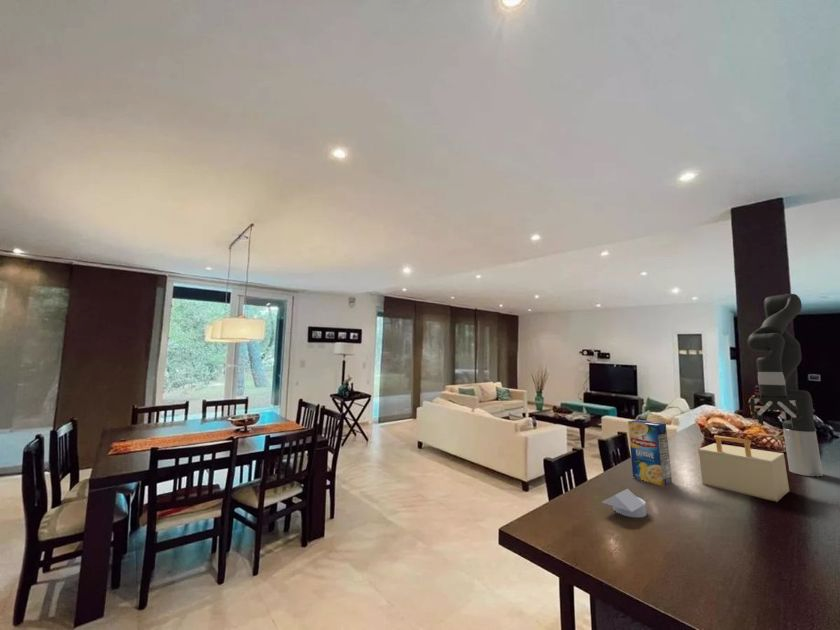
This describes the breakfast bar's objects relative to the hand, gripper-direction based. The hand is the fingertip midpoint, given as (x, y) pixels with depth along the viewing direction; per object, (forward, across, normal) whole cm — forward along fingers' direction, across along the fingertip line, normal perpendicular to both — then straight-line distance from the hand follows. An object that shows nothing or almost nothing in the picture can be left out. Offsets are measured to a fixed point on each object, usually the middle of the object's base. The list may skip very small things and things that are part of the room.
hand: (777, 426), depth 134 cm
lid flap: (+10, +12, +16) cm, 22 cm away
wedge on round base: (+25, +40, +66) cm, 81 cm away
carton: (+22, +12, +16) cm, 29 cm away
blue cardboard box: (+23, +39, +27) cm, 52 cm away
